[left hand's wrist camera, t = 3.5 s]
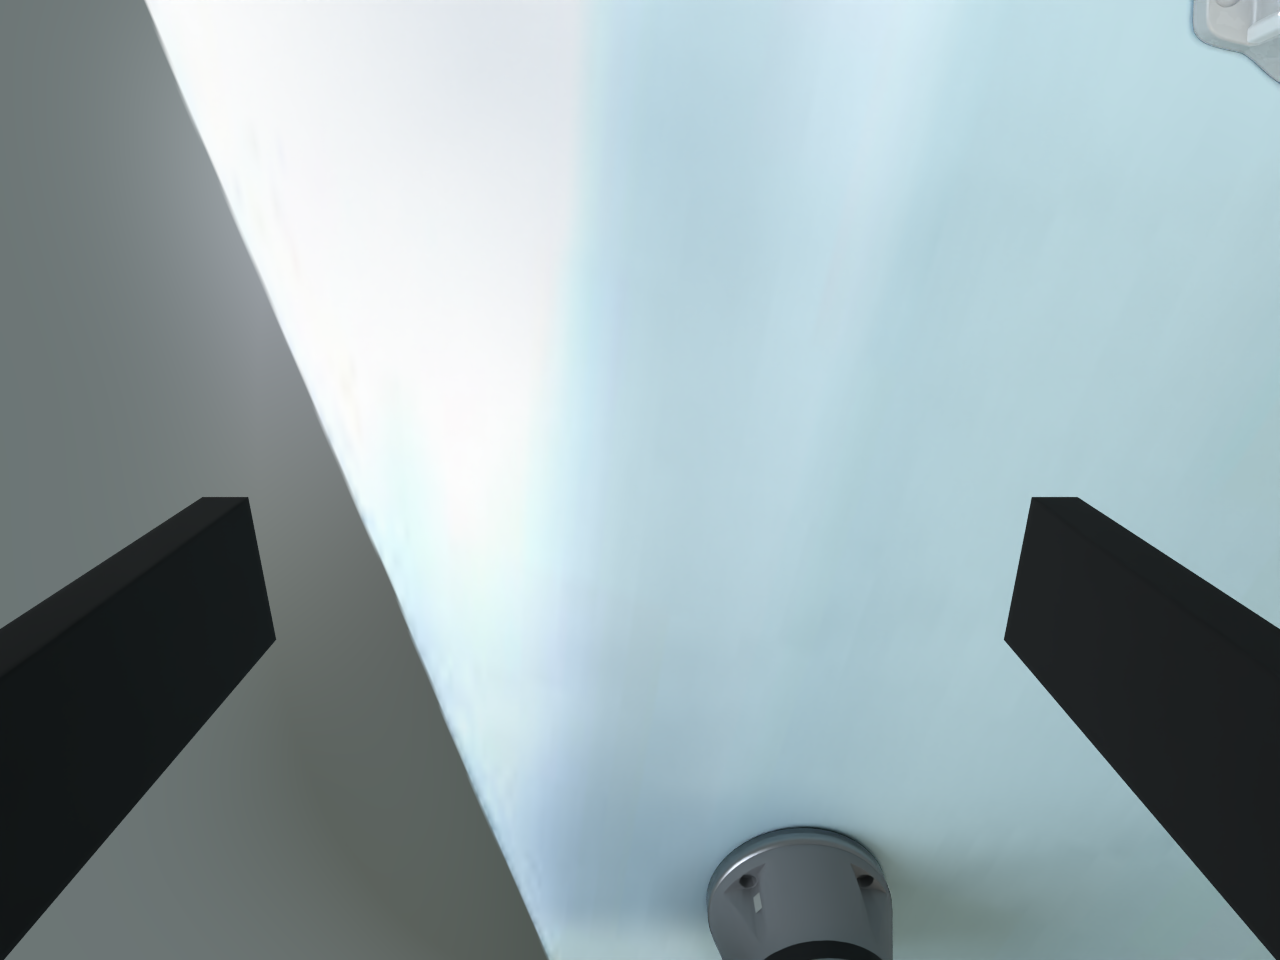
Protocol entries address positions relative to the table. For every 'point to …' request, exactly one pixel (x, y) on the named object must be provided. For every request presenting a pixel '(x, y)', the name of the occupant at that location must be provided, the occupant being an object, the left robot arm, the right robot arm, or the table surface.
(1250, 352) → the table surface
